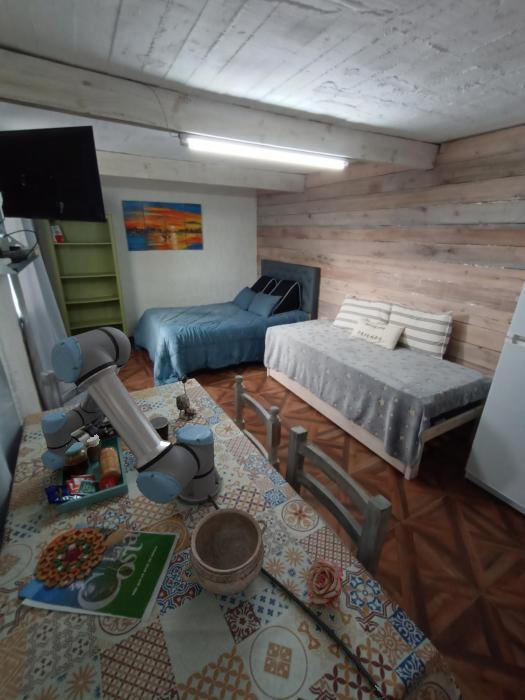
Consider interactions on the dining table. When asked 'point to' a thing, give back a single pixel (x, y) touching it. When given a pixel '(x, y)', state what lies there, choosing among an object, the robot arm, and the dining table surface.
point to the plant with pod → (184, 404)
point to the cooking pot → (226, 551)
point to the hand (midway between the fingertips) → (127, 409)
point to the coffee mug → (161, 426)
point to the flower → (324, 582)
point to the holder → (107, 434)
